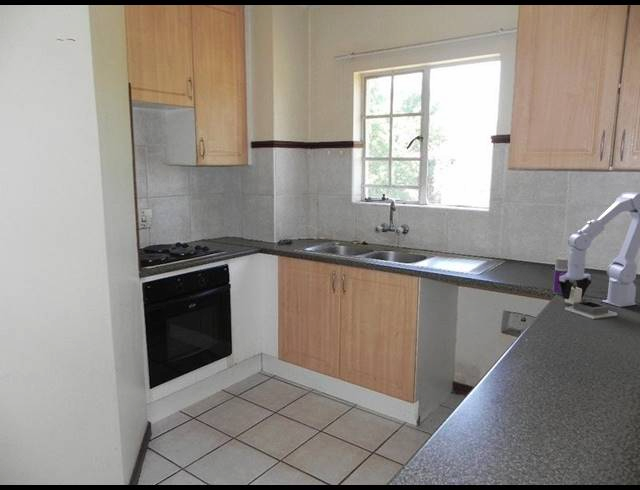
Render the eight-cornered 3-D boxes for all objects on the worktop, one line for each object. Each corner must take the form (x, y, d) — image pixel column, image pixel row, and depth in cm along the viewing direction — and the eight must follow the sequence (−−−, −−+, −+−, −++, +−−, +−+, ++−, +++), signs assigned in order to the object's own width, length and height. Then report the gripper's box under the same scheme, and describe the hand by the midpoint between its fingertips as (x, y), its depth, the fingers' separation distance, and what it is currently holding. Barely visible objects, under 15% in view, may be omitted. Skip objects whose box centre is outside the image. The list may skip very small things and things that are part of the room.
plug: (572, 300, 190) (573, 283, 189) (580, 303, 187) (582, 285, 185) (564, 301, 189) (566, 284, 188) (573, 304, 185) (575, 286, 184)
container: (558, 294, 199) (561, 259, 197) (550, 291, 204) (553, 257, 201) (567, 294, 200) (570, 259, 198) (559, 291, 205) (562, 257, 203)
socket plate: (587, 306, 182) (588, 298, 182) (616, 315, 171) (617, 307, 171) (564, 309, 178) (565, 301, 178) (593, 318, 167) (594, 310, 167)
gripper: (581, 261, 191) (577, 293, 194) (554, 263, 186) (551, 296, 188) (596, 264, 185) (593, 298, 187) (569, 267, 180) (565, 301, 182)
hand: (573, 297), depth 187 cm, fingers open, 7 cm apart
